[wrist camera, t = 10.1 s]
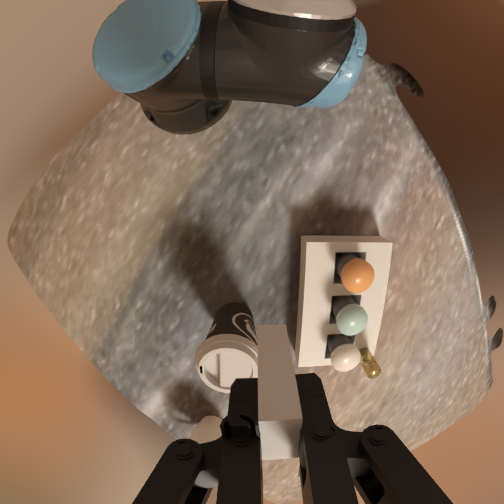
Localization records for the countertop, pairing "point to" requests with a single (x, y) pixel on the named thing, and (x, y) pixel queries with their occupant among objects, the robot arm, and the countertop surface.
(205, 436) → the mug
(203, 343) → the coffee cup
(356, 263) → the knob
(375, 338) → the panel
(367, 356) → the cylinder
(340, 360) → the knob
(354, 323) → the knob
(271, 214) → the countertop surface
